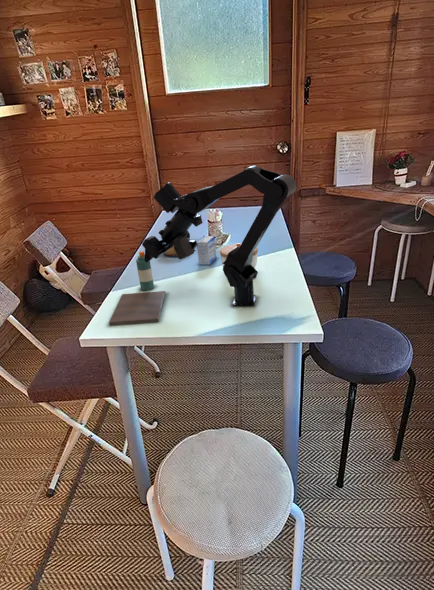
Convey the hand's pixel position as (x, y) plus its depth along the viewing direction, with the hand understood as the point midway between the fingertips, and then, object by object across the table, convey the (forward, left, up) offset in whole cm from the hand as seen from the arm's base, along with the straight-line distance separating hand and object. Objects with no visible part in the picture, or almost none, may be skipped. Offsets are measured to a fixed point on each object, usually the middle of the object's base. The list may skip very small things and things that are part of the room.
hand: (154, 256), depth 139 cm
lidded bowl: (+12, -25, -11) cm, 31 cm away
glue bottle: (+1, +5, -11) cm, 12 cm away
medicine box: (+26, -11, -11) cm, 31 cm away
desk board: (-15, +2, -11) cm, 19 cm away
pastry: (+37, +4, -11) cm, 39 cm away
